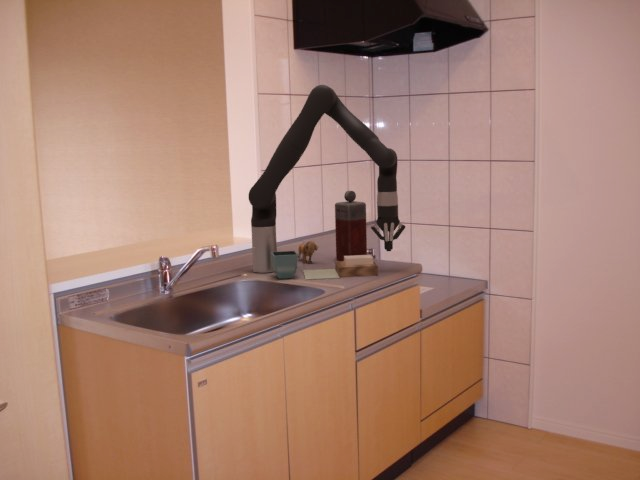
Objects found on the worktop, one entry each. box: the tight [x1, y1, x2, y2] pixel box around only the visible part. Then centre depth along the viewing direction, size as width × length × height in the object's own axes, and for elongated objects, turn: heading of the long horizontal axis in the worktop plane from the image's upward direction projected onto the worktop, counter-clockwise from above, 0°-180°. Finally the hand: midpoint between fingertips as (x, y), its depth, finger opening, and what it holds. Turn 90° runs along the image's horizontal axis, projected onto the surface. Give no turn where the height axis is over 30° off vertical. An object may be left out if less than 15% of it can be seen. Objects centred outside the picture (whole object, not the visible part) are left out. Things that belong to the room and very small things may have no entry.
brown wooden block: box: [334, 260, 379, 278], centre depth 264 cm, size 14×12×4 cm
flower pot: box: [271, 250, 299, 280], centre depth 259 cm, size 9×9×9 cm
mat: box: [302, 268, 341, 281], centre depth 263 cm, size 12×16×1 cm
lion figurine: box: [297, 240, 319, 264], centre depth 289 cm, size 15×5×9 cm, turn 31°
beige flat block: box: [344, 254, 374, 266], centre depth 263 cm, size 10×6×2 cm, turn 95°
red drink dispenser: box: [334, 190, 368, 261], centre depth 287 cm, size 9×11×28 cm
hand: (388, 250), depth 264 cm, fingers closed
